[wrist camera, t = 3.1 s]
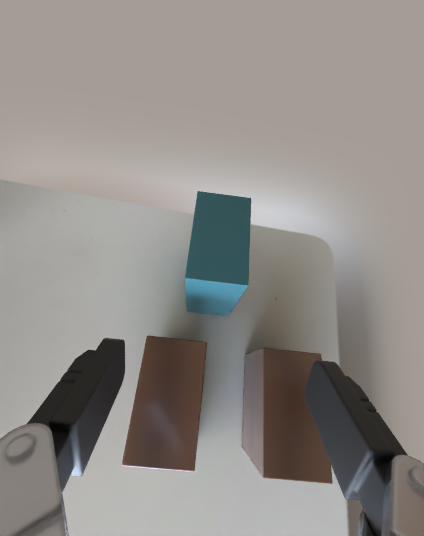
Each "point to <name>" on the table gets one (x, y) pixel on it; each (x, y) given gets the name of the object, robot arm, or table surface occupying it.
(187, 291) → the teal block
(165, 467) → the walnut block
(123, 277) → the table surface
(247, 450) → the walnut block
